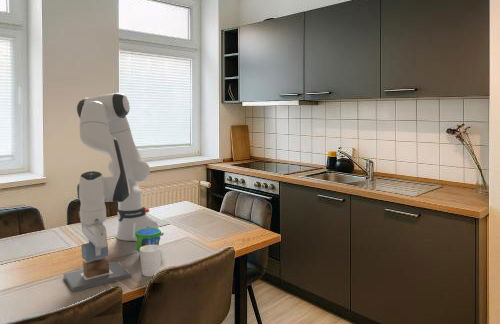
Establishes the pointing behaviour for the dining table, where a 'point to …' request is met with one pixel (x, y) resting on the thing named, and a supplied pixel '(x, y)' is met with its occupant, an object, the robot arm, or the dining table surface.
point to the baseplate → (95, 277)
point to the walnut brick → (96, 267)
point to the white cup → (150, 259)
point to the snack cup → (147, 237)
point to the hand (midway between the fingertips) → (95, 252)
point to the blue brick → (92, 252)
